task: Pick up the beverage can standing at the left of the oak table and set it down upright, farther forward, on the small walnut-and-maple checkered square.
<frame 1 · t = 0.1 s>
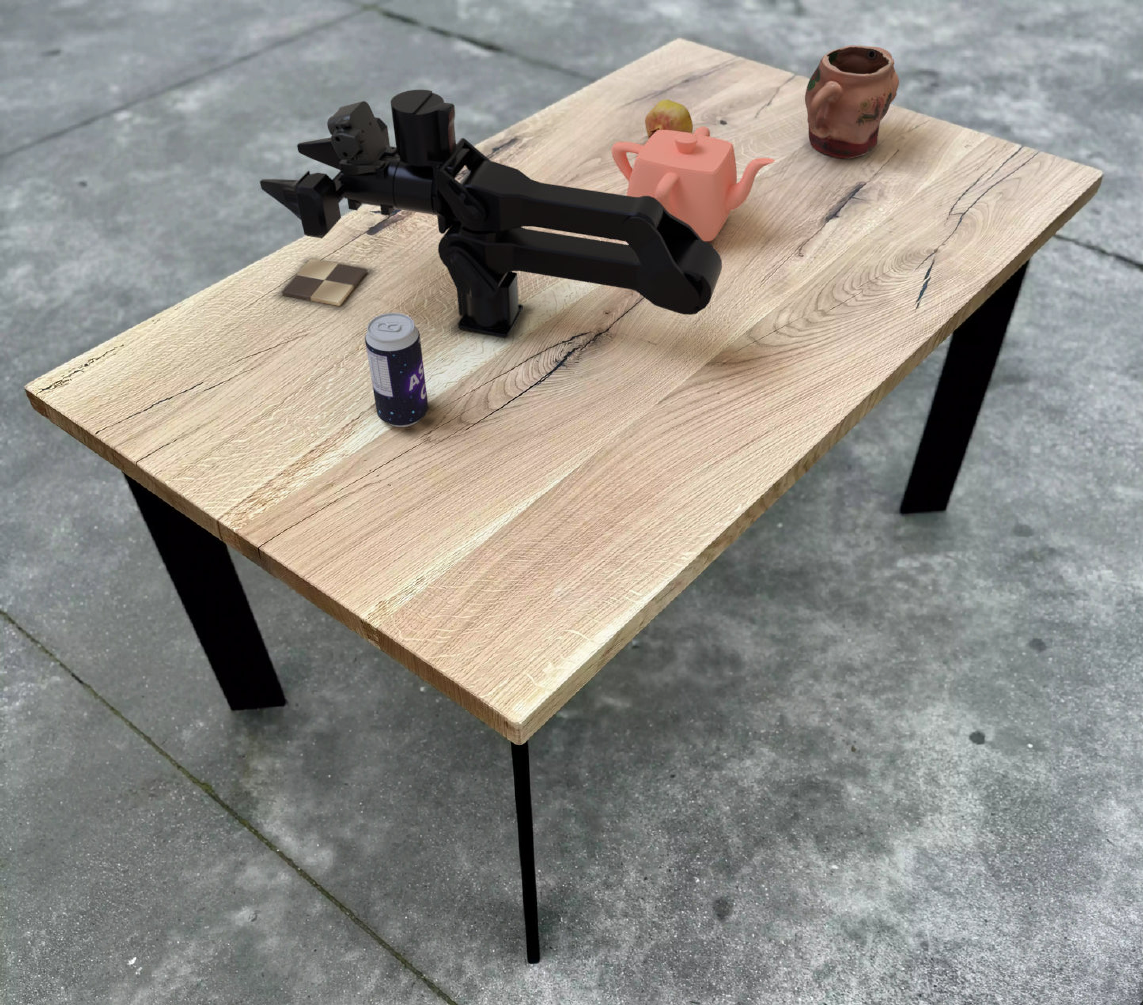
hand: (280, 165, 128), 17 cm above the table, tool horizontal, fingers open, 9 cm apart
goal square: (325, 283, 140), on the table
decorative planter: (837, 151, 166), on the table
fruit: (668, 145, 167), on the table
teapot: (685, 229, 150), on the table
beverage can: (403, 416, 122), on the table
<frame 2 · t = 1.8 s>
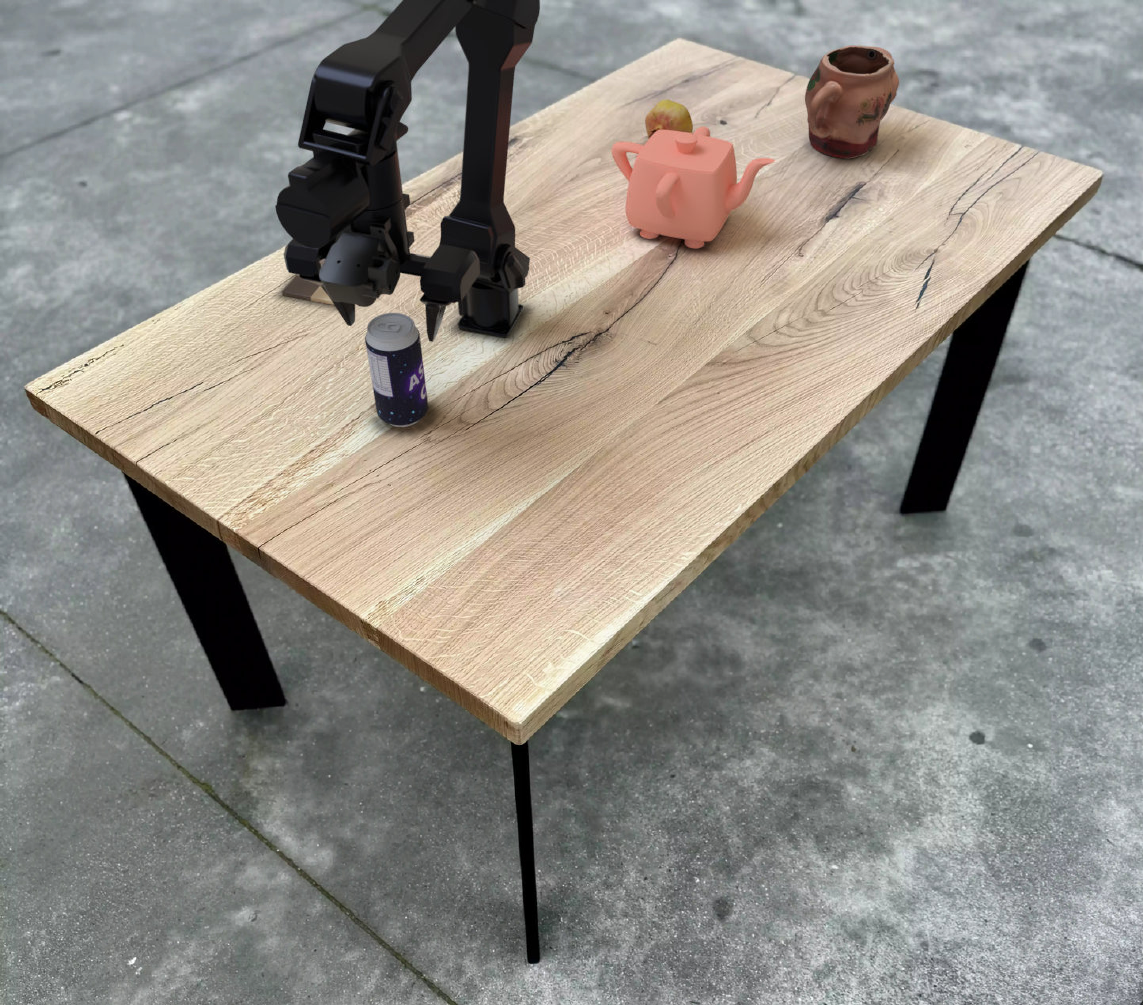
hand: (391, 331, 114), 11 cm above the table, tool pointing down, fingers open, 9 cm apart
nothing on the table moved.
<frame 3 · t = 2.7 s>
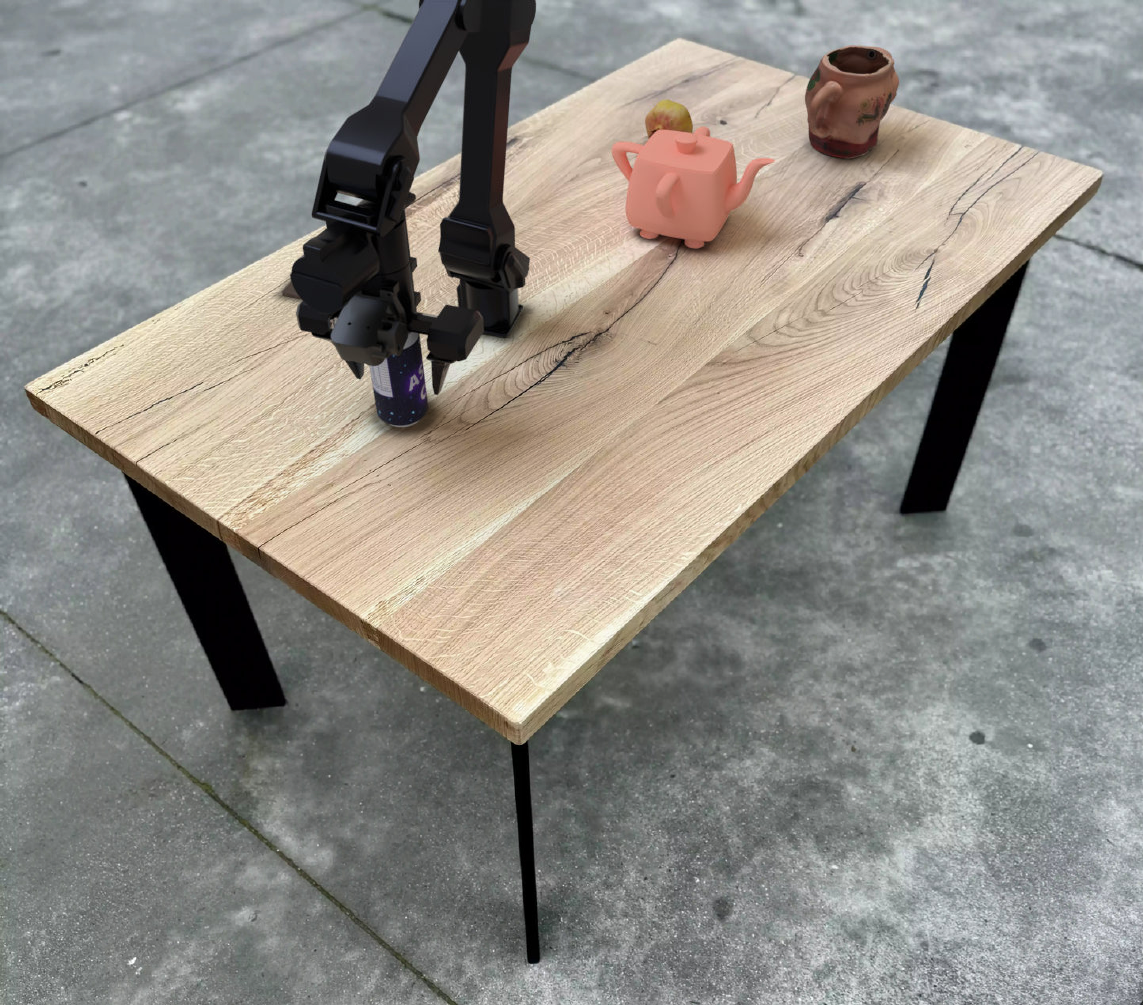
hand: (398, 384, 118), 4 cm above the table, tool pointing down
beverage can: (403, 416, 122), on the table, touching gripper
everything else where it was.
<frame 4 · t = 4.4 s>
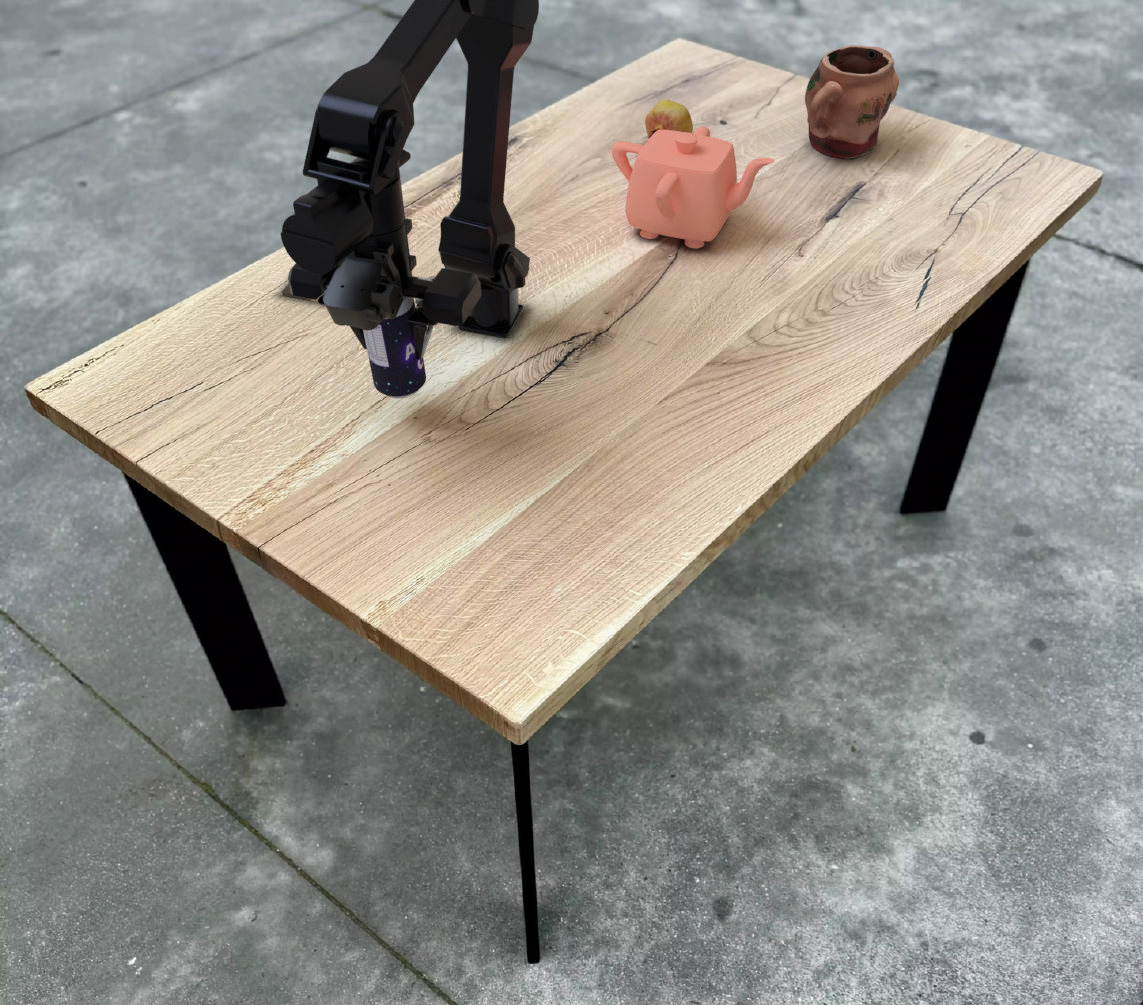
hand: (394, 352, 115), 9 cm above the table, tool pointing down, fingers closed on beverage can, 6 cm apart
beverage can: (401, 387, 119), point 4 cm above the table, touching gripper
everything else where it was.
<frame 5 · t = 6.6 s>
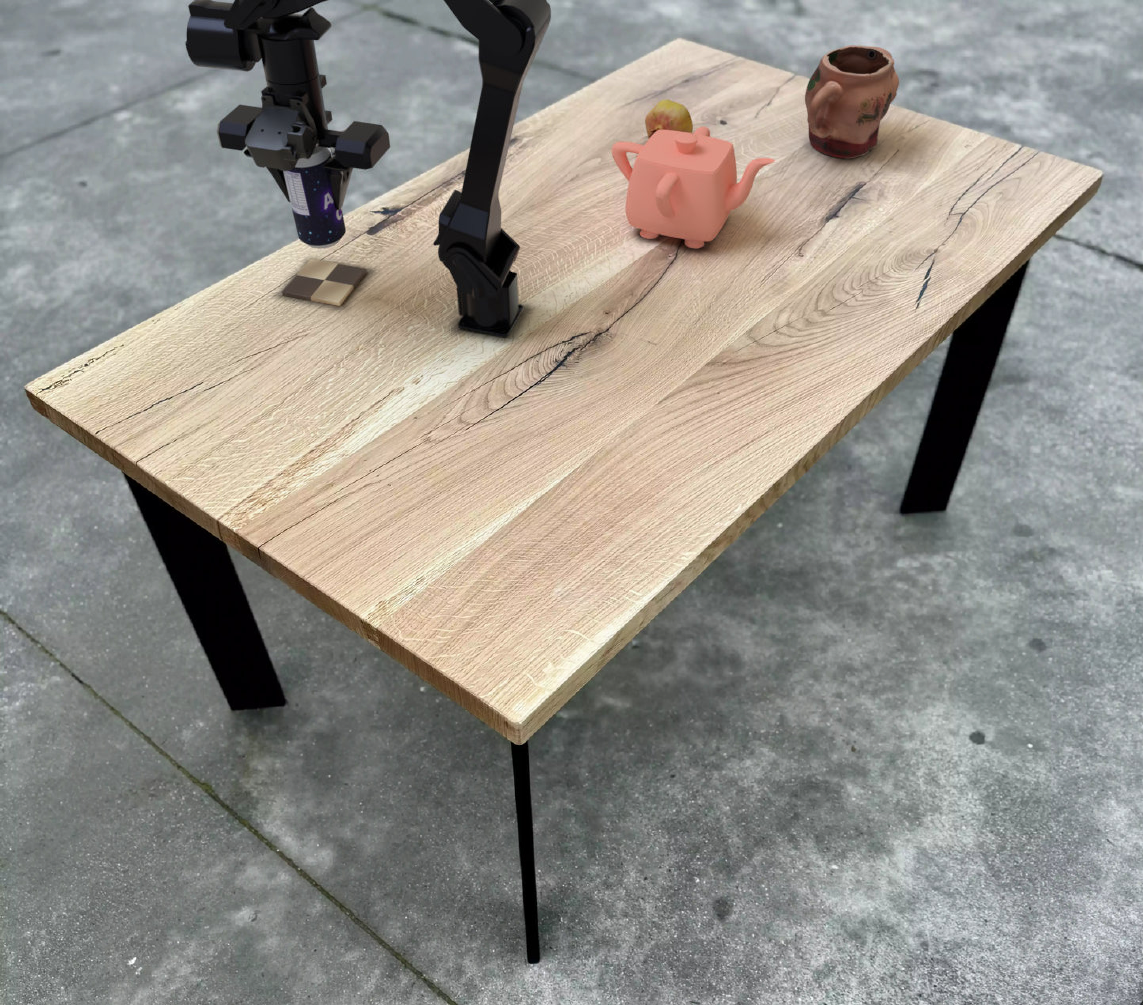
hand: (315, 204, 128), 13 cm above the table, tool pointing down, fingers closed on beverage can, 6 cm apart
beverage can: (323, 240, 132), point 8 cm above the table, touching gripper
everything else where it was.
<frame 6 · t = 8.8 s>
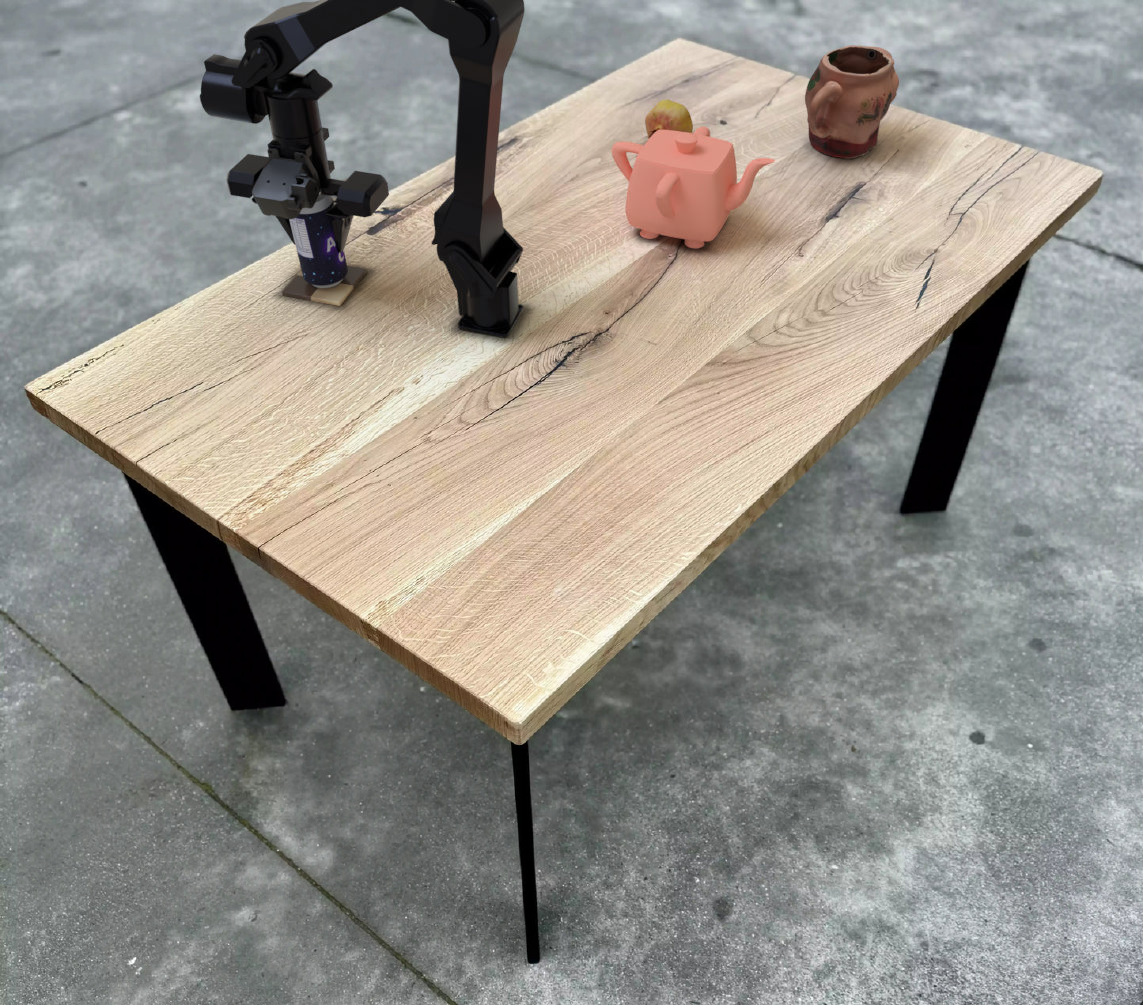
hand: (319, 247, 136), 5 cm above the table, tool pointing down, fingers closed on beverage can, 6 cm apart
beverage can: (327, 280, 140), point 1 cm above the table, touching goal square, gripper
everything else where it was.
when the fingers open (5 cm above the table, at t = 9.0 s): beverage can stays where it is, resting on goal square.
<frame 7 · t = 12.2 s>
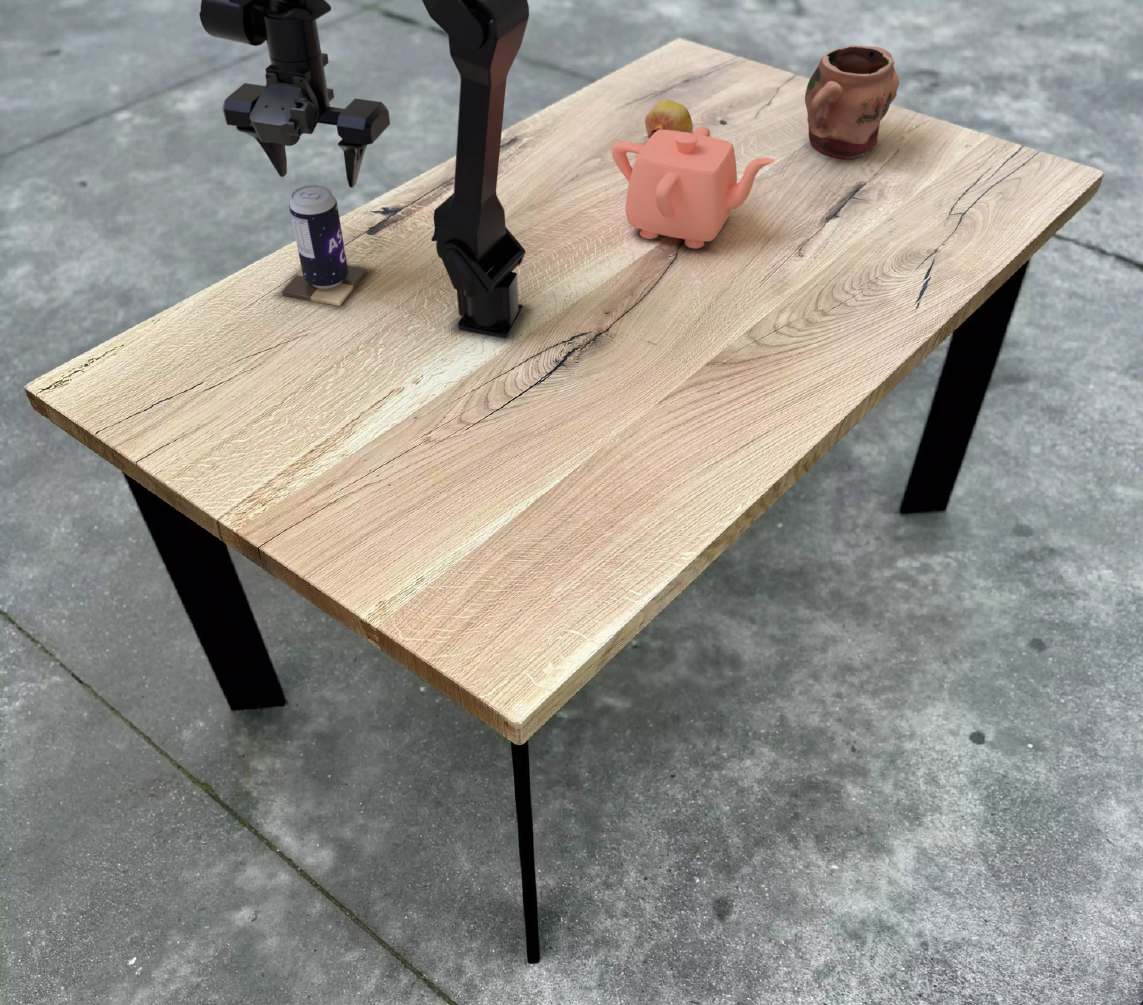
hand: (317, 180, 132), 13 cm above the table, tool pointing down, fingers open, 9 cm apart
beverage can: (327, 281, 140), resting on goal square
everything else where it was.
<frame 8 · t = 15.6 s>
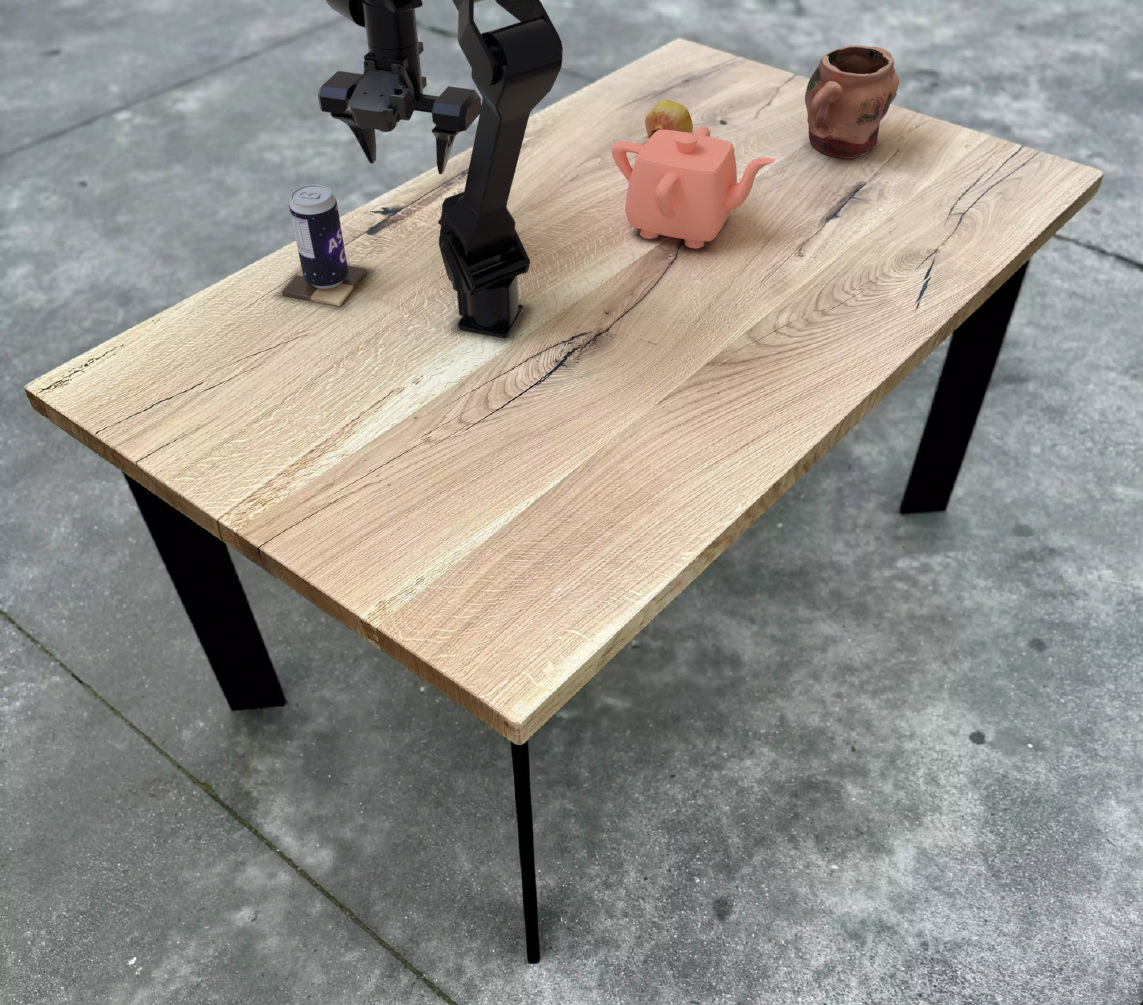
hand: (407, 167, 135), 13 cm above the table, tool pointing down, fingers open, 9 cm apart
nothing on the table moved.
at the end: beverage can 0.3 cm off-centre on the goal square, point 0.4 cm above the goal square's base; beverage can tilted 0°; the gripper is holding nothing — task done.
